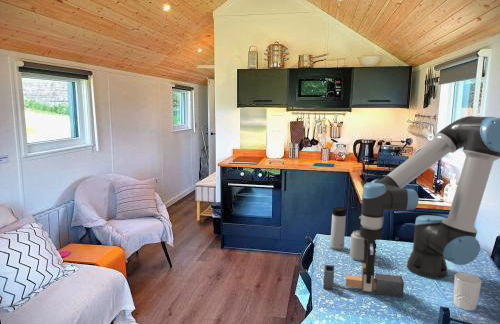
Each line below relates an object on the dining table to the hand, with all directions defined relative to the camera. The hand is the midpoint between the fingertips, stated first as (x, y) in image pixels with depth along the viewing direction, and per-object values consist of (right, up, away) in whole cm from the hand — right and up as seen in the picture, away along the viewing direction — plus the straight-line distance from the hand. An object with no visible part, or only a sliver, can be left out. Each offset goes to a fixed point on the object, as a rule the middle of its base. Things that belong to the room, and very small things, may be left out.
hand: (366, 287), depth 132 cm
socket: (-13, 0, +3) cm, 14 cm away
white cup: (+31, -3, -9) cm, 32 cm away
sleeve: (+7, -2, -1) cm, 8 cm away
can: (+5, +3, +28) cm, 29 cm away
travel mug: (-1, +5, +39) cm, 39 cm away
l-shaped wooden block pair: (+2, -1, 0) cm, 2 cm away
